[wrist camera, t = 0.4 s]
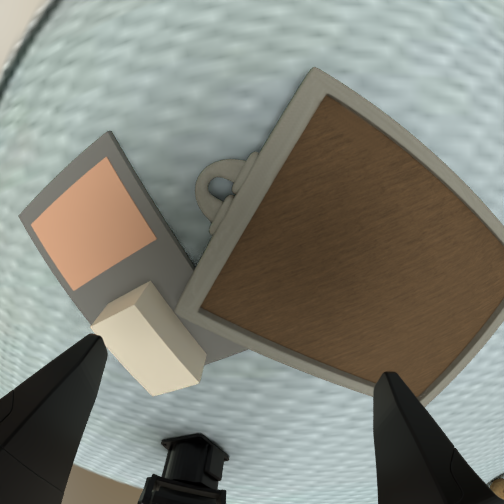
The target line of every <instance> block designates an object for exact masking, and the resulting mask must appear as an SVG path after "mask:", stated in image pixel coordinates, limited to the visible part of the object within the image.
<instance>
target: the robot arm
mask: <svg viewBox="0 0 504 504" xmlns="http://www.w3.org/2000/svg"><path fill="white" fill-rule="evenodd" d="M107 356H108V353H107V349H106V346H105V344H104V341H103V338H102V337H101V336H100V335H96V334H88V335H87V336H85V337H84V338H83V339H81V340H80V341H78V342H77V343H76V344H74V345H73V346H71V347H70V348H69V349H67V350H66V351H65V352H63V353H62V354H60V355H59V356H58V357H56V358H55V359H54V360H52V361H51V362H49V363H48V364H47V365H45V366H44V367H43V368H41V369H40V370H39V371H37V372H36V373H35V374H33V375H32V376H31V377H29V378H28V379H27V380H25V381H24V382H23V383H21V384H20V385H19V386H17V387H16V388H15V389H14V390H12V391H10V392H9V393H8V394H7V395H5V396H4V397H2V398H1V399H0V504H61V502H62V499H63V495H64V491H65V488H66V484H67V481H68V477H69V474H70V471H71V468H72V465H73V462H74V459H75V456H76V453H77V450H78V447H79V444H80V441H81V438H82V435H83V432H84V429H85V427H86V424H87V421H88V418H89V416H90V413H91V410H92V408H93V405H94V402H95V400H96V397H97V393H98V390H99V386H100V382H101V379H102V375H103V371H104V368H105V364H106V361H107ZM373 434H374V446H375V457H376V471H377V487H378V504H504V500H503V499H502V498H500V497H498V496H497V495H496V494H495V493H494V492H493V491H492V490H491V489H490V488H489V487H488V486H487V485H486V483H485V482H484V481H483V480H482V479H481V478H480V477H479V476H478V475H477V474H476V473H475V471H474V470H473V469H472V468H471V467H470V466H469V465H468V463H467V462H466V461H465V459H464V458H463V457H462V456H461V454H460V453H459V452H458V450H457V449H456V448H454V445H453V444H452V443H451V441H450V440H449V439H448V437H447V436H446V435H445V433H444V432H443V431H442V429H441V428H440V427H439V425H438V424H437V423H436V422H435V420H434V419H433V418H432V416H431V415H430V414H429V413H428V411H427V410H426V409H425V407H424V406H423V405H422V404H421V402H420V401H419V400H418V399H417V397H416V396H415V395H414V393H413V392H412V391H411V390H410V388H409V387H408V386H407V385H406V383H405V382H404V381H403V380H402V378H401V377H400V376H399V375H398V374H397V373H396V372H394V371H386V372H384V373H383V374H382V375H381V377H380V378H379V380H378V381H377V383H376V384H375V386H374V390H373ZM161 444H162V445H163V446H164V447H165V448H166V449H168V450H169V451H168V454H167V458H166V462H165V466H164V470H163V473H162V477H160V476H157V475H155V474H152V477H147V479H146V483H145V486H144V489H143V492H142V494H141V496H140V498H139V501H138V504H226V490H217V489H218V481H221V479H222V471H223V464H224V461H228V460H229V456H228V455H226V454H225V453H224V452H223V451H221V450H220V449H219V448H218V447H217V446H215V445H214V444H213V443H212V442H211V441H209V440H208V439H207V438H206V437H205V436H203V435H201V434H196V435H191V436H185V437H179V438H173V439H167V440H162V442H161Z"/></svg>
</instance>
